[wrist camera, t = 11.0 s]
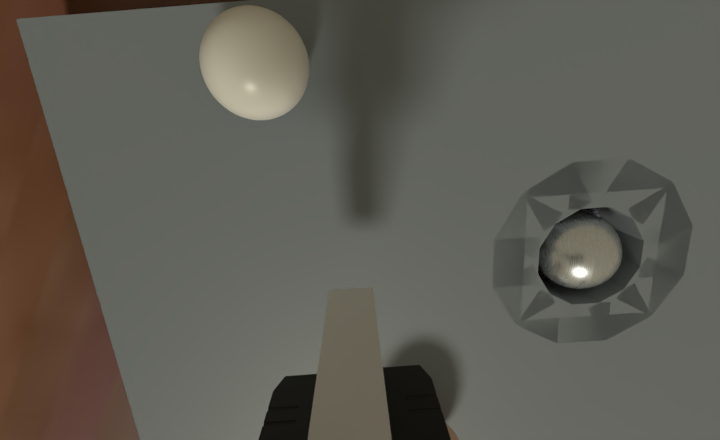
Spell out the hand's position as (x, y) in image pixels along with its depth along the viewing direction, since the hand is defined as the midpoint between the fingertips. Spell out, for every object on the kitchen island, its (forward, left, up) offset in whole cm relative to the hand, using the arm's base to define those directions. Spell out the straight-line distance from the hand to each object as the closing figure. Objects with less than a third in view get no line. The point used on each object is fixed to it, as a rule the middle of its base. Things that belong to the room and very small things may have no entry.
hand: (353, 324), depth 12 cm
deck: (+4, 0, -6) cm, 8 cm away
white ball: (-3, +9, -2) cm, 9 cm away
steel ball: (+10, 0, -4) cm, 11 cm away
